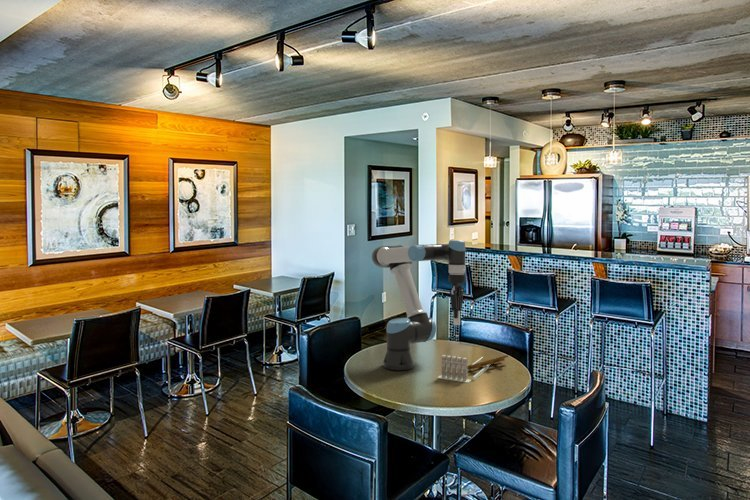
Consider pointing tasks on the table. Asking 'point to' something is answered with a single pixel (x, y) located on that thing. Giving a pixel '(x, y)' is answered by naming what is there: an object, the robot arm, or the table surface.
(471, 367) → the brown branch
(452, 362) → the fixed fence segment
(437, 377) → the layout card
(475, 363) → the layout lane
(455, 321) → the robot arm
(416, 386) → the table surface
